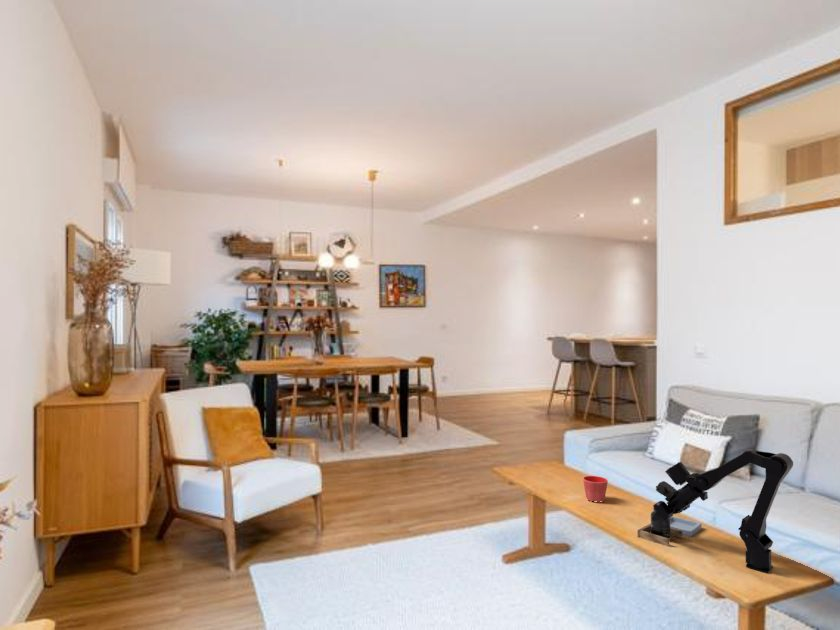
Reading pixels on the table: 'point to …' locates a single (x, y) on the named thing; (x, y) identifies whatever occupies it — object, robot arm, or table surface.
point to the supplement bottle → (660, 527)
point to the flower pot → (595, 488)
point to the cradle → (655, 538)
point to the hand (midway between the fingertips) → (656, 517)
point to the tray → (685, 526)
